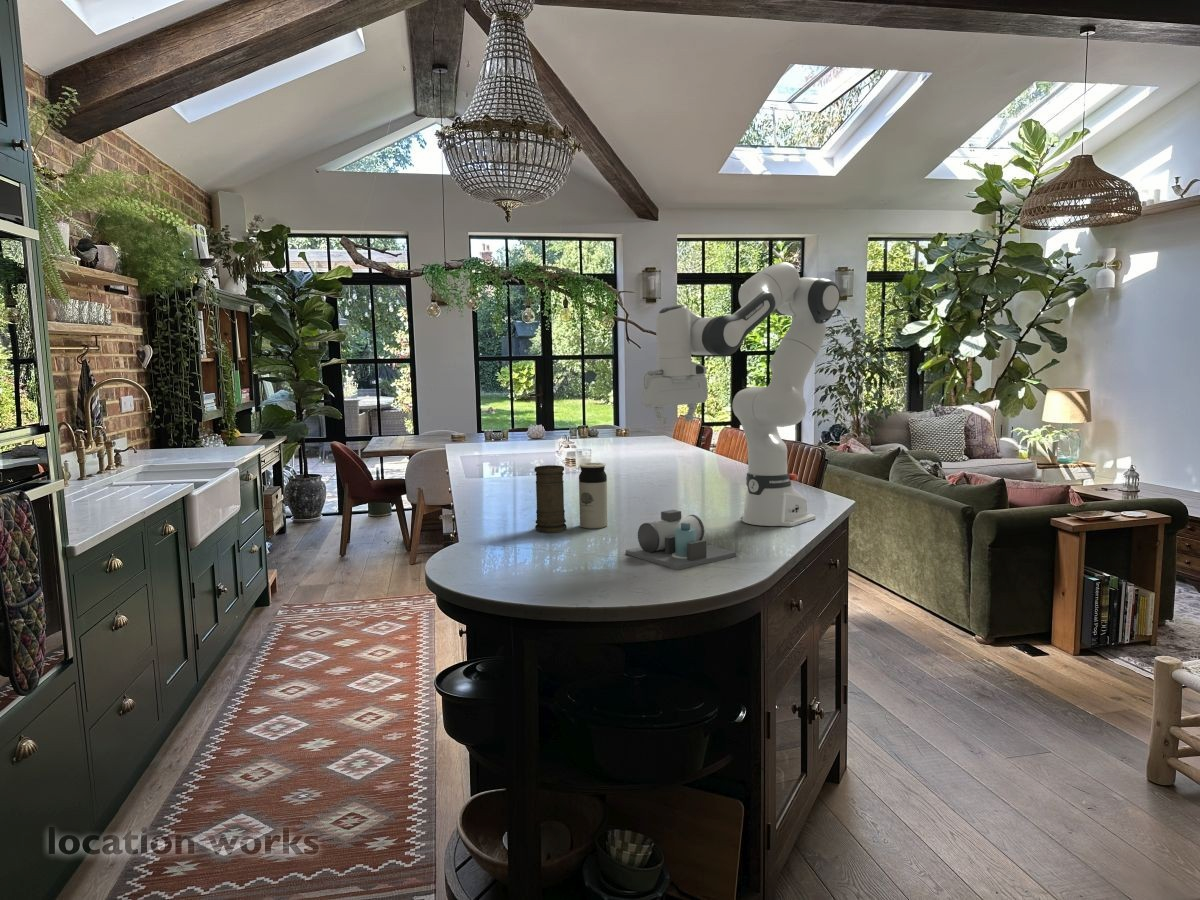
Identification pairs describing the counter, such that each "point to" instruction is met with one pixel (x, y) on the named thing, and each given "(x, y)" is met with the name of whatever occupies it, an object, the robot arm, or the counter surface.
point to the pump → (684, 539)
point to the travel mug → (593, 495)
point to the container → (550, 499)
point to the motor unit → (661, 543)
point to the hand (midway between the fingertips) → (675, 422)
